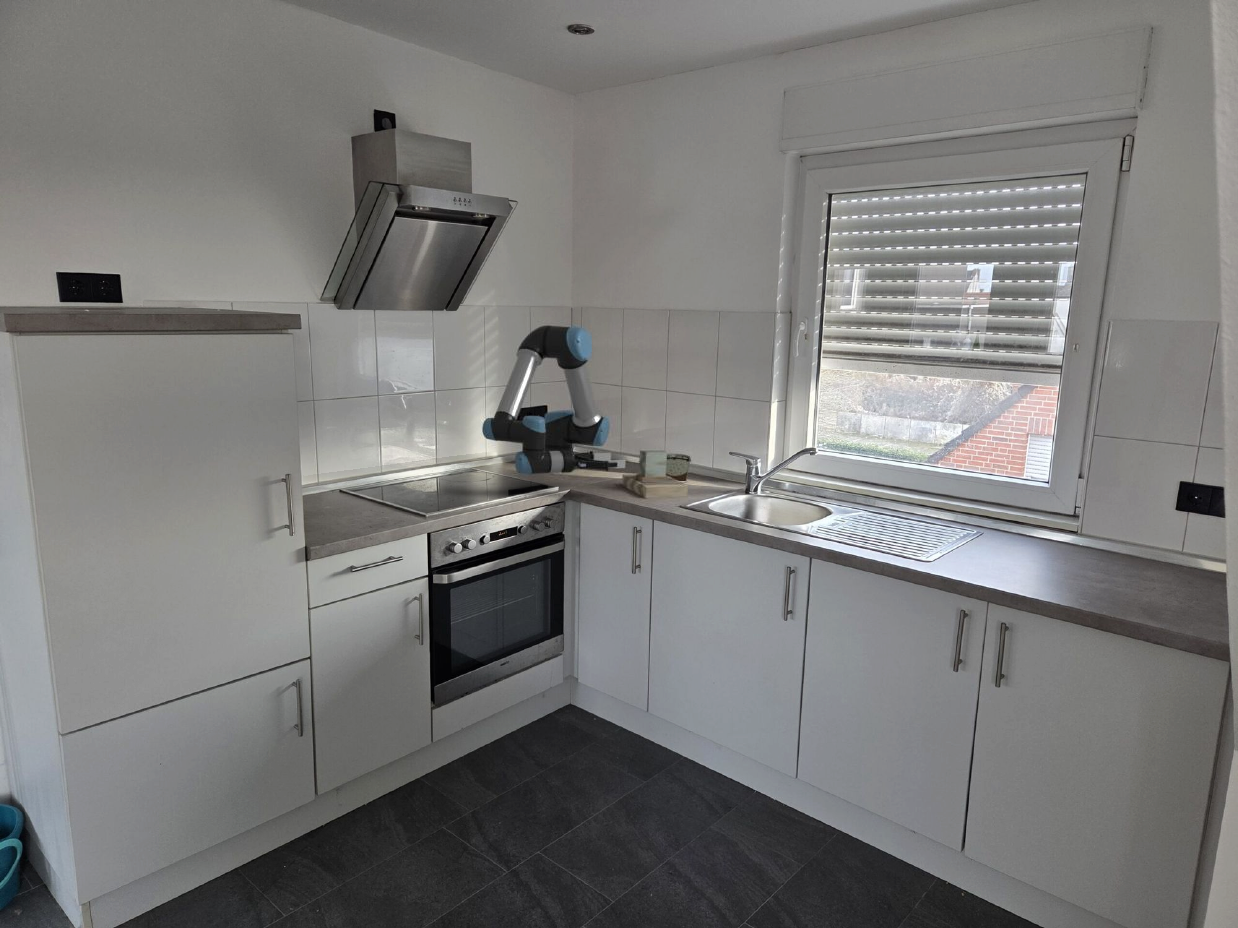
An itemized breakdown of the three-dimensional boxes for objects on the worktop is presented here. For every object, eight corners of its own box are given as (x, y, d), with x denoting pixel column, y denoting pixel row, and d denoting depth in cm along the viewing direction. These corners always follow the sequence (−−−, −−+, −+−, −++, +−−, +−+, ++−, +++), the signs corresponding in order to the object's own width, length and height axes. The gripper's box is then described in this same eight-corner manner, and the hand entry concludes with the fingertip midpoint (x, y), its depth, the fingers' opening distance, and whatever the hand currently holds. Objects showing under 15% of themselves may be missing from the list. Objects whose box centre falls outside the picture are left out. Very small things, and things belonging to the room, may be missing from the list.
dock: (622, 484, 302) (622, 473, 301) (661, 483, 308) (661, 472, 307) (645, 498, 282) (646, 486, 281) (687, 496, 288) (687, 485, 288)
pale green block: (635, 478, 295) (637, 449, 293) (660, 477, 299) (662, 449, 297) (642, 481, 289) (644, 452, 288) (667, 480, 293) (669, 452, 291)
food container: (690, 479, 318) (691, 454, 316) (690, 482, 312) (691, 457, 310) (658, 477, 319) (660, 452, 318) (658, 480, 313) (659, 455, 311)
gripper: (549, 465, 292) (604, 464, 300) (571, 480, 269) (630, 477, 277) (549, 445, 290) (605, 443, 298) (572, 457, 268) (631, 456, 276)
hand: (617, 460), depth 288 cm, fingers open, 13 cm apart
